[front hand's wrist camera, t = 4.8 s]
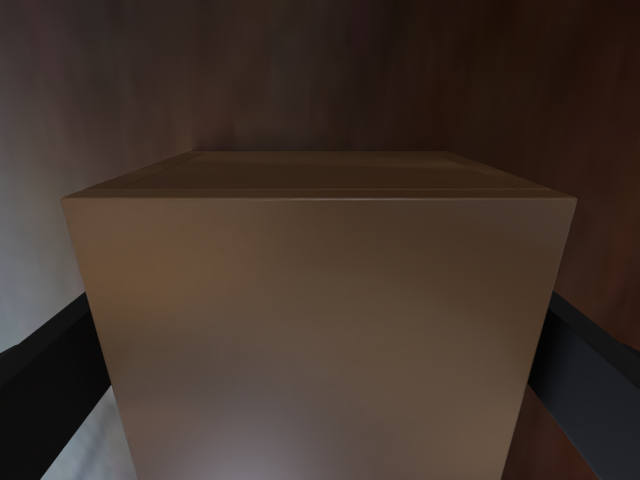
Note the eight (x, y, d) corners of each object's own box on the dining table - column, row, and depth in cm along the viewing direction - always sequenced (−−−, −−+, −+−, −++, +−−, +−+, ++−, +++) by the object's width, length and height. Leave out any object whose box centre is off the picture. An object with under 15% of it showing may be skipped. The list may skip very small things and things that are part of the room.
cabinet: (407, 466, 22) (453, 654, 14) (231, 466, 22) (185, 654, 14) (448, 150, 15) (580, 197, 7) (189, 150, 15) (57, 197, 7)
